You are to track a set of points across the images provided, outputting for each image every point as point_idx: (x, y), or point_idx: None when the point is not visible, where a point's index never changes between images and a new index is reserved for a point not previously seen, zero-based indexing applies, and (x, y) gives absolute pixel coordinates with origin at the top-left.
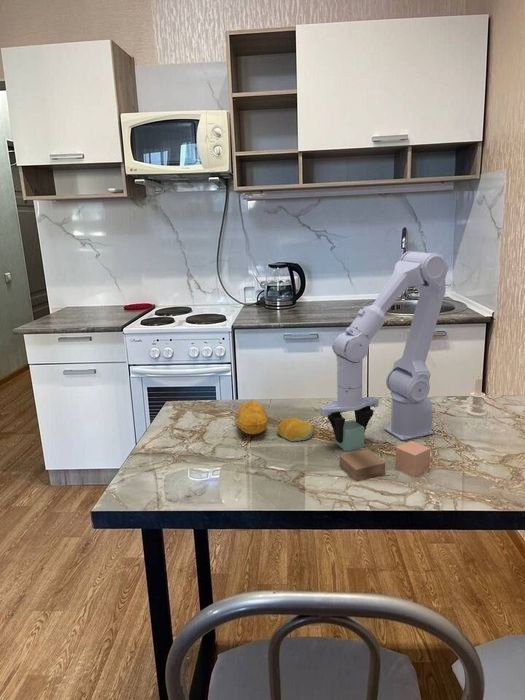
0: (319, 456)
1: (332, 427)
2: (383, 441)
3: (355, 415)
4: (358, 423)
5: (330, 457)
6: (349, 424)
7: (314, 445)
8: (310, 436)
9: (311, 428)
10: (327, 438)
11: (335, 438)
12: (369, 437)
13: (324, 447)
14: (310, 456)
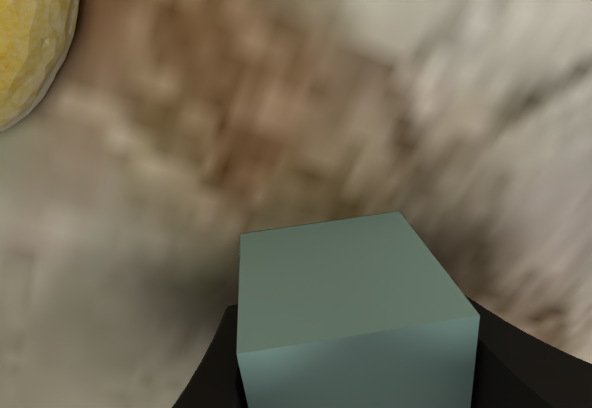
0: (73, 380)
1: (188, 385)
2: (551, 297)
3: (523, 393)
4: (468, 400)
5: (142, 401)
6: (374, 404)
7: (63, 234)
8: (35, 105)
9: (19, 69)
10: (206, 145)
11: (224, 314)
12: (515, 223)
13: (137, 282)
14: (8, 370)
